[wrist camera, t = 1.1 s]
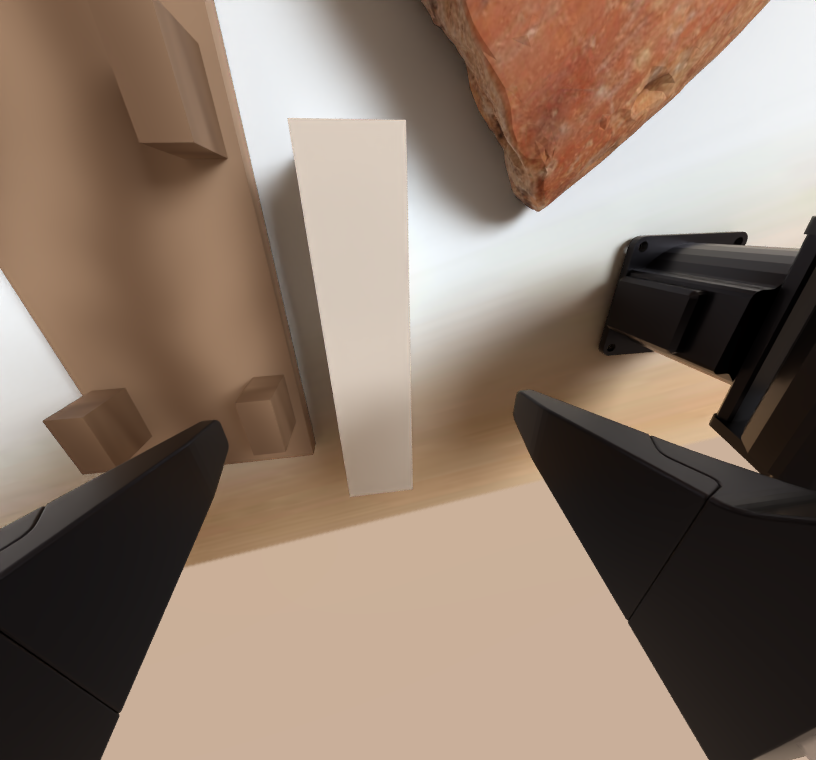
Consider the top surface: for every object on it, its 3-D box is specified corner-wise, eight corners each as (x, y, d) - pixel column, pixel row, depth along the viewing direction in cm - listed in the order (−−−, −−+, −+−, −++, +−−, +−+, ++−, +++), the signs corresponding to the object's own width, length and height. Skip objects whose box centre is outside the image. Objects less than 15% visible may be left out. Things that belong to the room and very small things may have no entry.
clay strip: (393, 148, 12) (406, 119, 9) (404, 442, 20) (412, 489, 17) (309, 148, 12) (287, 118, 9) (352, 448, 20) (349, 497, 16)
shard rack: (201, -53, 9) (121, -189, 6) (315, 443, 19) (306, 486, 16) (-180, -75, 8) (-502, -252, 5) (145, 462, 18) (99, 512, 15)
